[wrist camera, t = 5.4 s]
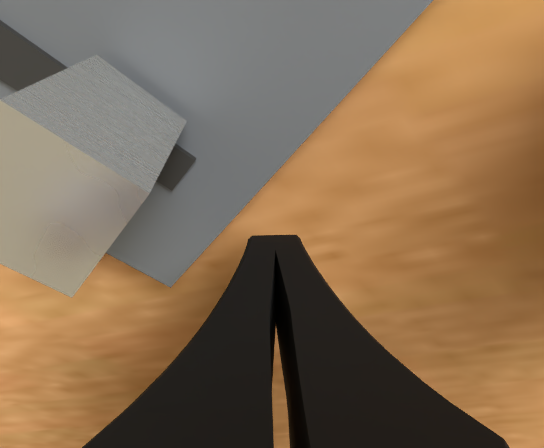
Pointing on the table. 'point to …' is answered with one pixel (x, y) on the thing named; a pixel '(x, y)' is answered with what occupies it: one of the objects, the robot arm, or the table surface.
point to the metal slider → (76, 168)
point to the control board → (208, 92)
